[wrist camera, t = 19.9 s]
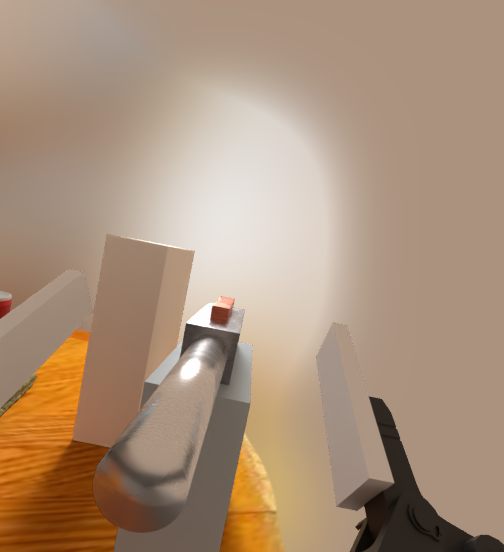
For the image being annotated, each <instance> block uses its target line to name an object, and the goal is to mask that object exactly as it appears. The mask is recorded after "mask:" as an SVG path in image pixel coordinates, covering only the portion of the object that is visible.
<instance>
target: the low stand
mask: <svg viewBox="0 0 504 552" xmlns="http://www.w3.org/2000/svg"><path fill="white" fill-rule="evenodd" d="M182 343H183V340H182V341H181V343H180V344H179V345H178V346H177V347H176V348H175V349H174V350H173V351H172V352H171V354H170V355H169V356H168V357H167V358H166V359H165V360H164V361H163V362H162V363H161V364H160V366H159V367H158V368H157V369H156V370H155V371H154V372H153V373H152V374H151V375H150V376H149V378H148V379H147V380H146V381H145V382H144V388H143V393H142V399H141V404H140V409H141V408H142V407H143V405H144V404H145V403H146V402H147V400H148V399H149V398H150V396H151V395H152V394H153V392H154V391H155V390H156V389H157V387H158V386H159V385H160V383H161V382H162V381H163V380H164V378H165V377H166V376H167V374H168V373H169V372H170V371H171V369H172V368H173V367H174V365H175V364H176V363H177V362H178V360H179V359H180V353H181V348H182ZM251 369H252V345H251V344H246V343H241V342H238V346H237V351H236V355H235V360H234V365H233V370H232V374H231V379H230V384H229V385H224V384H220V385H219V389H218V392H217V395H216V399H215V402H214V406H213V409H212V413H211V416H210V420H209V423H208V427H207V430H206V434H205V437H204V440H203V444H202V447H201V451H200V454H199V458H198V461H197V465H196V468H195V472H194V475H193V479H192V482H191V485H190V489H189V492H188V496H187V499H186V503H185V505H184V508H183V510H182V511H181V513H180V514H179V516H178V517H177V518H176V519H175V520H174V521H173V522H172V523H170V524H169V525H168V526H166V527H164V528H162V529H160V530H157V531H153V532H148V533H136V532H130V531H127V530H124V529H121V528H119V527H118V531H117V536H116V541H115V547H114V552H219V550H220V546H221V541H222V536H223V531H224V526H225V522H226V517H227V512H228V507H229V503H230V498H231V493H232V488H233V484H234V479H235V474H236V469H237V465H238V460H239V455H240V450H241V446H242V441H243V436H244V431H245V426H246V422H247V417H248V412H249V408H250V399H251ZM139 411H140V410H139Z"/></svg>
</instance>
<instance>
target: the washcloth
mask: <svg viewBox="0 0 504 552" xmlns="http://www.w3.org/2000/svg"><path fill="white" fill-rule="evenodd" d="M36 377H37V376H36V374H35V373H34V374H33V375H32V376H31V377H30V378H29V379H28V380H27V381H26V382H25V383H24V384H23V385H22V386H21V387H20V388H19V389H18V391H17V392H16V393H15V394H14V395H13V396H12V397H11V398H10V399H9V400H8V401H7V402H6V403H5V404H4V405H3V406H2V407H1V408H0V416H1V415H2V414H3V413H4V412H5V411H6V410H7V409H8V408H9V407H10V406H11V405H13V404H14V403H15V402H16V401H18V399H19V398H20V397H21V396H22V395H23V394H24V393H25V392H26V391H27V390H28V389H29V388H31V386H32V385H33V383H34V381H35V379H36Z"/></svg>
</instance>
